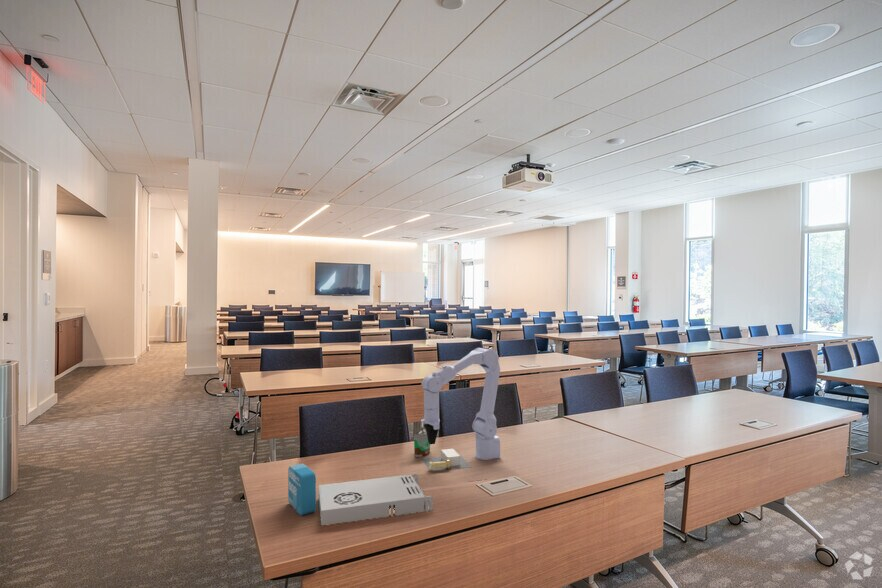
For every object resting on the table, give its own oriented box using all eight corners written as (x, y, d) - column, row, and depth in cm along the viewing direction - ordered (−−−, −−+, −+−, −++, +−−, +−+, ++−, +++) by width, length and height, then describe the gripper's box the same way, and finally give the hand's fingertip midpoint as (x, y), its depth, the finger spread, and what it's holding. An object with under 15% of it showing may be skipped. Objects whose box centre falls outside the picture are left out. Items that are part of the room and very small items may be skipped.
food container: (428, 461, 183) (428, 435, 183) (413, 460, 185) (413, 434, 185) (435, 451, 195) (435, 427, 196) (421, 450, 197) (421, 426, 197)
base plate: (459, 457, 187) (459, 454, 187) (471, 469, 174) (471, 467, 174) (421, 461, 183) (421, 458, 183) (430, 474, 169) (430, 471, 169)
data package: (288, 503, 146) (287, 465, 147) (302, 499, 149) (301, 462, 149) (301, 517, 137) (301, 476, 137) (316, 513, 140) (316, 473, 140)
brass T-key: (449, 466, 174) (449, 458, 174) (451, 469, 171) (451, 461, 171) (429, 468, 172) (429, 460, 172) (431, 471, 169) (431, 463, 169)
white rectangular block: (453, 457, 184) (453, 448, 185) (460, 465, 176) (460, 456, 176) (441, 458, 183) (441, 449, 183) (447, 466, 174) (447, 457, 174)
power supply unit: (432, 512, 141) (432, 496, 141) (321, 528, 131) (321, 510, 131) (417, 488, 159) (417, 473, 159) (318, 500, 150) (318, 485, 150)
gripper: (417, 404, 181) (417, 438, 181) (426, 413, 167) (426, 450, 167) (434, 403, 183) (434, 437, 183) (444, 411, 169) (445, 448, 169)
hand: (431, 443), depth 175 cm, fingers closed
